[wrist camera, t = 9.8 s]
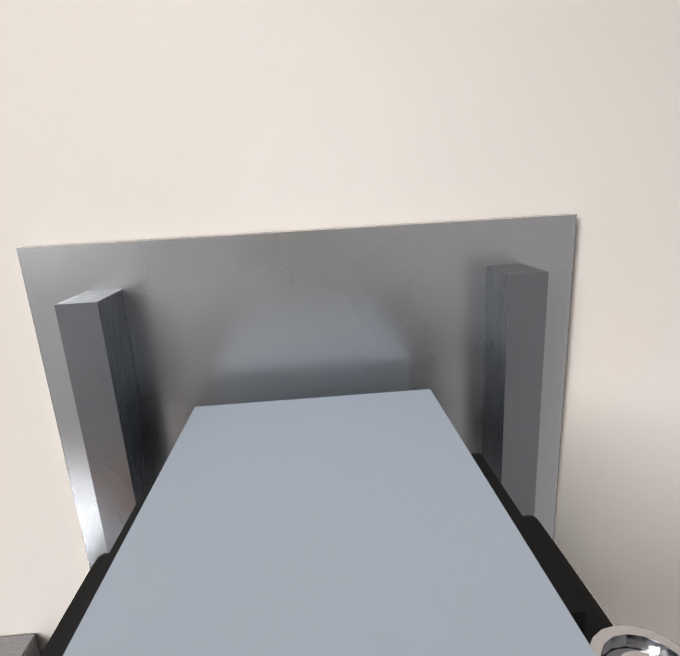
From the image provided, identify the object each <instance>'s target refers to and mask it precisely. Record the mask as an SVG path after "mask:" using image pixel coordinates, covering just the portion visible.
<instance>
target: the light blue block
mask: <svg viewBox="0 0 680 656" xmlns="http://www.w3.org/2000/svg"><path fill="white" fill-rule="evenodd" d="M63 656H596V654H595V653H594V651H593V649H592V648H591V646H590V645H589V643H588V641H587V640H586V638H585V637H584V635H583V633H582V632H581V630H580V628H579V627H578V625H577V624H576V622H575V620H574V619H573V617H572V616H571V614H570V612H569V611H568V609H567V608H566V606H565V604H564V603H563V601H562V600H561V598H560V596H559V595H558V593H557V592H556V590H555V588H554V587H553V585H552V584H551V582H550V580H549V579H548V577H547V576H546V574H545V572H544V571H543V569H542V568H541V566H540V564H539V563H538V561H537V560H536V558H535V556H534V555H533V553H532V552H531V550H530V548H529V547H528V545H527V544H526V542H525V540H524V539H523V537H522V535H521V534H520V532H519V531H518V529H517V527H516V526H515V524H514V523H513V521H512V519H511V518H510V516H509V515H508V513H507V511H506V510H505V508H504V507H503V505H502V503H501V502H500V500H499V499H498V497H497V495H496V494H495V492H494V491H493V489H492V487H491V486H490V484H489V483H488V481H487V479H486V478H485V476H484V475H483V473H482V471H481V470H480V468H479V467H478V465H477V463H476V462H475V460H474V459H473V457H472V455H471V454H470V452H469V450H468V449H467V447H466V446H465V444H464V442H463V441H462V439H461V438H460V436H459V434H458V433H457V431H456V430H455V428H454V426H453V425H452V423H451V422H450V420H449V418H448V417H447V415H446V414H445V412H444V410H443V409H442V407H441V406H440V404H439V402H438V401H437V399H436V398H435V396H434V394H433V393H432V391H431V390H430V389H424V390H411V391H397V392H384V393H371V394H358V395H345V396H331V397H318V398H305V399H292V400H278V401H265V402H252V403H239V404H226V405H212V406H199V407H195V408H194V410H193V412H192V413H191V415H190V417H189V419H188V421H187V423H186V425H185V427H184V429H183V430H182V432H181V434H180V436H179V438H178V440H177V442H176V444H175V445H174V447H173V449H172V451H171V453H170V455H169V457H168V459H167V461H166V462H165V464H164V466H163V468H162V470H161V472H160V474H159V476H158V477H157V479H156V481H155V483H154V485H153V487H152V489H151V491H150V493H149V494H148V496H147V498H146V500H145V502H144V504H143V506H142V508H141V509H140V511H139V513H138V515H137V517H136V519H135V521H134V523H133V525H132V526H131V528H130V530H129V532H128V534H127V536H126V538H125V540H124V541H123V543H122V545H121V547H120V549H119V551H118V553H117V555H116V556H115V558H114V560H113V562H112V564H111V566H110V568H109V570H108V572H107V573H106V575H105V577H104V579H103V581H102V583H101V585H100V587H99V588H98V590H97V592H96V594H95V596H94V598H93V600H92V602H91V604H90V605H89V607H88V609H87V611H86V613H85V615H84V617H83V619H82V620H81V622H80V624H79V626H78V628H77V630H76V632H75V634H74V636H73V637H72V639H71V641H70V643H69V645H68V647H67V649H66V651H65V652H64V654H63Z"/></svg>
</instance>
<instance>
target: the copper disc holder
mask: <svg viewBox="0 0 680 656" xmlns="http://www.w3.org/2000/svg"><path fill="white" fill-rule="evenodd" d="M40 655H41V654H40V651H39V647H38V644H37V640H36V636H35V634H27V635H17V636H6V637H0V656H40Z"/></svg>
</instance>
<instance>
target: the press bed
mask: <svg viewBox="0 0 680 656" xmlns="http://www.w3.org/2000/svg"><path fill="white" fill-rule="evenodd" d="M576 217H577V214H561V215H545V216H528V217H512V218H495V219H479V220H462V221H446V222H429V223H413V224H396V225H380V226H363V227H347V228H330V229H314V230H297V231H281V232H264V233H248V234H231V235H215V236H198V237H182V238H165V239H149V240H132V241H116V242H99V243H83V244H67V245H50V246H34V247H22V248H17V253H18V257H19V261H20V266H21V270H22V274H23V279H24V283H25V287H26V292H27V296H28V300H29V305H30V309H31V313H32V318H33V322H34V326H35V331H36V335H37V339H38V344H39V348H40V352H41V357H42V361H43V365H44V370H45V374H46V378H47V383H48V387H49V391H50V396H51V400H52V404H53V409H54V413H55V417H56V422H57V426H58V430H59V435H60V439H61V443H62V448H63V452H64V456H65V461H66V465H67V469H68V474H69V478H70V482H71V487H72V491H73V495H74V500H75V504H76V508H77V513H78V517H79V521H80V526H81V530H82V534H83V539H84V543H85V547H86V552H87V556H88V560H89V565H90V569H91V567H92V566H93V564H94V562H95V561H96V560H97V558H98V557H99V556H100V555H102V554H103V553H109V552H110V551H111V549H112V547H113V545H114V543H115V541H116V540H117V538H118V536H119V534H120V532H121V531H122V529H123V527H124V525H125V523H126V522H127V520H128V518H129V516H130V514H131V513H132V511H133V509H134V507H135V505H136V504H137V502H138V500H139V498H140V496H141V495H142V493H143V491H144V489H145V487H146V486H147V484H148V482H149V481H150V480H156V479H157V477H158V476H159V474H160V472H161V470H162V468H163V466H164V464H165V462H166V461H167V459H168V457H169V455H170V453H171V451H172V449H173V447H174V445H175V444H176V442H177V440H178V438H179V436H180V434H181V432H182V430H183V429H184V427H185V425H186V423H187V421H188V419H189V417H190V415H191V413H192V412H193V410H194V408H195V407H199V406H212V405H226V404H239V403H252V402H265V401H278V400H292V399H305V398H318V397H331V396H345V395H358V394H371V393H384V392H397V391H411V390H424V389H430V390H431V391H432V393H433V394H434V396H435V398H436V399H437V401H438V402H439V404H440V406H441V407H442V409H443V410H444V412H445V414H446V415H447V417H448V418H449V420H450V422H451V423H452V425H453V426H454V428H455V430H456V431H457V433H458V434H459V436H460V438H461V439H462V441H463V442H464V444H465V446H466V447H467V449H468V450H469V452H470V453H481V454H482V455H483V457H484V458H485V460H486V461H487V463H488V464H489V466H490V467H491V469H492V470H493V472H494V473H495V475H496V476H497V478H498V479H499V481H500V482H501V484H502V486H503V487H504V489H505V490H506V492H507V493H508V495H509V496H510V498H511V499H512V501H513V502H514V504H515V505H516V507H517V508H518V510H519V511H520V513H521V514H522V516H525V515H532V516H534V517H536V518H537V519H538V520H539V521H540V523H541V524H542V526H543V527H544V528H545V530H546V531H547V533H548V534H549V536H550V537H551V538H552V540H553V535H554V521H555V507H556V493H557V479H558V465H559V452H560V438H561V424H562V410H563V396H564V382H565V369H566V355H567V341H568V327H569V313H570V299H571V286H572V272H573V258H574V244H575V230H576Z"/></svg>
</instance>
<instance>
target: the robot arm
mask: <svg viewBox="0 0 680 656" xmlns="http://www.w3.org/2000/svg"><path fill="white" fill-rule="evenodd" d="M470 454H471V455H472V457H473V459H474V460H475V462H476V463H477V465H478V467H479V468H480V470H481V471H482V473H483V475H484V476H485V478H486V479H487V481H488V483H489V484H490V486H491V487H492V489H493V491H494V492H495V494H496V495H497V497H498V499H499V500H500V502H501V503H502V505H503V507H504V508H505V510H506V511H507V513H508V515H509V516H510V518H511V519H512V521H513V523H514V524H515V526H516V527H517V529H518V531H519V532H520V534H521V535H522V537H523V539H524V540H525V542H526V544H527V545H528V547H529V548H530V550H531V552H532V553H533V555H534V556H535V558H536V560H537V561H538V563H539V564H540V566H541V568H542V569H543V571H544V572H545V574H546V576H547V577H548V579H549V580H550V582H551V584H552V585H553V587H554V588H555V590H556V592H557V593H558V595H559V596H560V598H561V600H562V601H563V603H564V604H565V606H566V608H567V609H568V611H569V612H570V614H571V616H572V617H573V619H574V620H575V622H576V624H577V625H578V627H579V628H580V630H581V632H582V633H583V635H584V637H585V638H586V640H587V641H588V643H589V645H590V646H591V648H592V649H593V651H594V653H595V654H596V656H680V646H679V645H677V644H676V643H674V642H673V641H671V640H670V639H668V638H666V637H664V636H662V635H659V634H657V633H655V632H653V631H650V630H647V629H643V628H639V627H635V626H628V625H614V626H613V625H612V624H611V622H610V621H609V619H608V618H607V616H606V615H605V614H604V612H603V611H602V609H601V608H600V607H599V605H598V604H597V602H596V601H595V599H594V598H593V597H592V595H591V594H590V592H589V591H588V589H587V588H586V587H585V585H584V584H583V582H582V581H581V580H580V578H579V577H578V575H577V574H576V572H575V571H574V570H573V568H572V567H571V565H570V564H569V562H568V561H567V560H566V558H565V557H564V555H563V554H562V553H561V551H560V550H559V548H558V547H557V545H556V544H555V543H554V541H553V540H552V538H551V537H550V536H549V534H548V533H547V531H546V530H545V528H544V527H543V526H542V524H541V523H540V521H539V520H538V519H537V518H536V517H534V516H532V515H525V516H522V514H521V513H520V511H519V510H518V508H517V507H516V505H515V504H514V502H513V501H512V499H511V498H510V496H509V495H508V493H507V492H506V490H505V489H504V487H503V486H502V484H501V482H500V481H499V479H498V478H497V476H496V475H495V473H494V472H493V470H492V469H491V467H490V466H489V464H488V463H487V461H486V460H485V458H484V457H483V455H482V454H481V453H470ZM155 481H156V480H150V481H149V482H148V484H147V486H146V487H145V489H144V491H143V493H142V495H141V496H140V498H139V500H138V502H137V504H136V505H135V507H134V509H133V511H132V513H131V514H130V516H129V518H128V520H127V522H126V523H125V525H124V527H123V529H122V531H121V532H120V534H119V536H118V538H117V540H116V541H115V543H114V545H113V547H112V549H111V551H110V552H109V553H103V554H102V555H100V556H99V557H98V558H97V560H96V561H95V562H94V564H93V566H92V567H91V569H90V571H89V573H88V574H87V576H86V578H85V580H84V581H83V583H82V585H81V586H80V588H79V590H78V592H77V593H76V595H75V597H74V599H73V600H72V602H71V604H70V605H69V607H68V609H67V611H66V612H65V614H64V616H63V617H62V619H61V621H60V623H59V624H58V626H57V628H56V630H55V631H54V633H53V635H52V636H51V638H50V640H49V642H48V643H47V645H46V647H45V649H44V650H43V652H42V654H41V655H40V656H63V654H64V652H65V651H66V649H67V647H68V645H69V643H70V641H71V639H72V637H73V636H74V634H75V632H76V630H77V628H78V626H79V624H80V622H81V620H82V619H83V617H84V615H85V613H86V611H87V609H88V607H89V605H90V604H91V602H92V600H93V598H94V596H95V594H96V592H97V590H98V588H99V587H100V585H101V583H102V581H103V579H104V577H105V575H106V573H107V572H108V570H109V568H110V566H111V564H112V562H113V560H114V558H115V556H116V555H117V553H118V551H119V549H120V547H121V545H122V543H123V541H124V540H125V538H126V536H127V534H128V532H129V530H130V528H131V526H132V525H133V523H134V521H135V519H136V517H137V515H138V513H139V511H140V509H141V508H142V506H143V504H144V502H145V500H146V498H147V496H148V494H149V493H150V491H151V489H152V487H153V485H154V483H155Z"/></svg>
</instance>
